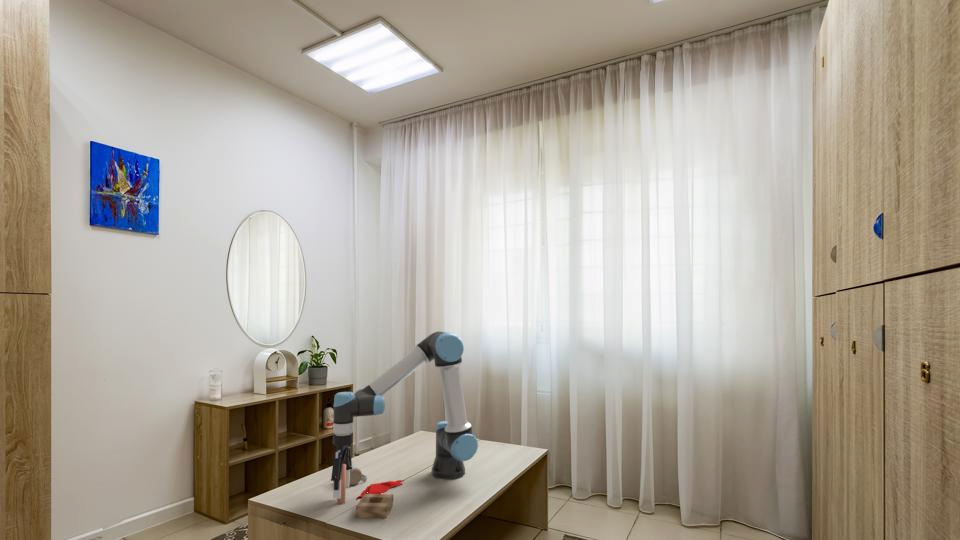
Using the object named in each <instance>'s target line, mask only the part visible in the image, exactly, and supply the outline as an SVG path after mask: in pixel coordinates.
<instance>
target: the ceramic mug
mask: <svg viewBox="0 0 960 540" xmlns="http://www.w3.org/2000/svg"><path fill="white" fill-rule="evenodd" d="M350 467H352V469H349V470H350V482H349V486H355V485H357V484H359V483H360V482H367V479H368V476H367V475H365V474H364V473H362V470H361V469H360V468H359V466H358V465H356V463H354V462H352V466H350Z"/></svg>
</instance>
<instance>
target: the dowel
mask: <svg viewBox="0 0 960 540" xmlns="http://www.w3.org/2000/svg"><path fill="white" fill-rule="evenodd" d="M340 480H341V498H340V499H336V503H337V505H343V503H344V504H346V464H343V466H342V472H341V477H340Z"/></svg>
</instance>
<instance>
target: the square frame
mask: <svg viewBox="0 0 960 540" xmlns="http://www.w3.org/2000/svg"><path fill="white" fill-rule="evenodd" d="M394 498H395V497H394V494H392V493H390V494H389V493H388V494H387V493H386V494H385V493H383V494H364V496H363V497H361V499H360V500H359V502H358V503H357V505H356V510H355V512H356V513H355V514H356V515H355V518H361V519H362V518H365V519H387V518H388V517H389V515H390V512H391V511H392V509H393V507H394Z"/></svg>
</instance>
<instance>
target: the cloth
mask: <svg viewBox="0 0 960 540" xmlns="http://www.w3.org/2000/svg"><path fill="white" fill-rule="evenodd" d="M402 481H403V482H405V480H403V479H397V480H395V481H394V480H388V481H383V482H377V483H371V484H370V485H367V487H366V488H365V489H364V490H363V491H361V494H360V495H359V496H357V497H356V498H355V500H356V501H357V500H358V499H359V498H362V497H363V496H364V494H381V493H383V494H385V493H387V492H388V491H389V490H390V489H391V488H394V487H395V488H396V487H398V486H401V485H403V484H402V483H403V482H402ZM400 482H401V483H400ZM367 492H368V493H367Z"/></svg>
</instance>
